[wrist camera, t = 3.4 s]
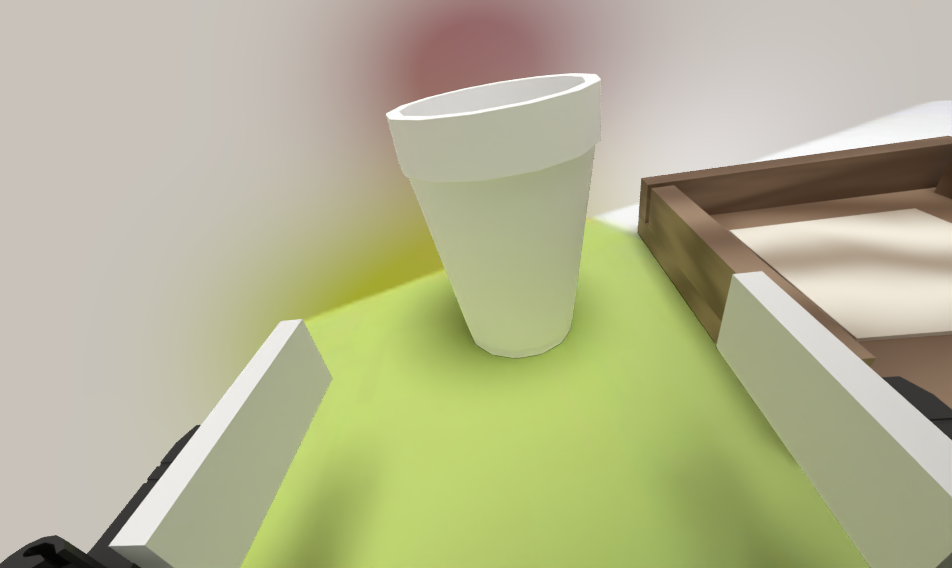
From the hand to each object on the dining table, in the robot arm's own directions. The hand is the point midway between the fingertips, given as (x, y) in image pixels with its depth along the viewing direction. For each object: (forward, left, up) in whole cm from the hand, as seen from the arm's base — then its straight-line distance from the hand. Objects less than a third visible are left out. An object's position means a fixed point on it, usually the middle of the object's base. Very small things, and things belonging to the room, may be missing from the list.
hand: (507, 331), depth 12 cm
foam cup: (+4, -9, -7) cm, 12 cm away
